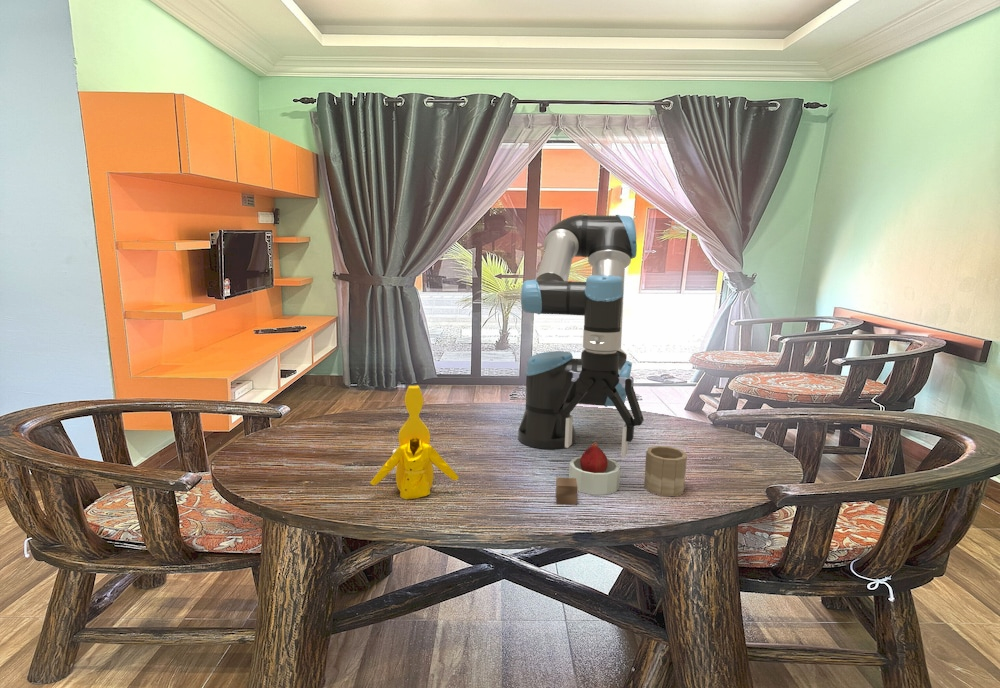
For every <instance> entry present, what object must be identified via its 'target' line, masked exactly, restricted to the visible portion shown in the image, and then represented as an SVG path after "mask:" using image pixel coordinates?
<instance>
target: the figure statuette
mask: <svg viewBox="0 0 1000 688" xmlns="http://www.w3.org/2000/svg"><path fill="white" fill-rule="evenodd" d="M404 405H405V408H406V411H407V412H408V415H409V416H408V417H407V419H406V420H405V422H404V423H403V425H402V426H401V428H399V431H398V437H397V438H398V444H399V446H397V448H395V449H396V451H395V452H394V454H393V453H392V455H391V456H390V457H389V459H387V461H386V462H385V463H384V464H383V465H382V466H381V468H380V469H379V470H378V472H377V473H376V474H375V475H374V477H373V478H372V480H371V481H370V482H369V483H370V485H372V486H377V485H378V484H379V483H380V482H381V481H382V480H383V479H384V478H385V477H386V476H387V475H389V474H390V472H392V471H393V470H394V469H395V482H396V487H397V489H398V491H400V492H399V497H400V498H401V499H403V500H414V499H420V498H421V497H427V496H428V495H430V494H431V488H432V486H433V482H434V468H433V465H434V466H435V467H436V468H437V469H438V470H440V471H441V472H442V473H443V474H445V476H447V477H448V478H449V479H450V480H452V481H453V482H454V481H457V480H459V479H460V476H459V475H458V474H457V473H456V472H455V471H454V470H453V468H452V467H451V466H450V465H449V464H448V463H447V462H446V461H445V460H444V458H443V457H442V455H440V453H439V452H437V450H436V449H435V448H434V447H433V446H432V445H431V444H430V442H431V434H430V430H429V428H428V427H427V425H426V424H425V423H424V422H423V420H422V419H421V418H420V416H419V415H420V413H421V411H422V409H423V405H424V396H423V393H422V390H421V388H420V386H419V385H418V384H417V385H408V386H407V389H406V392H405V395H404Z"/></svg>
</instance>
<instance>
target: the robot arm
mask: <svg viewBox="0 0 1000 688" xmlns="http://www.w3.org/2000/svg"><path fill="white" fill-rule="evenodd" d="M637 246H638V245H637V229H636V224H635V220H634V219H633V218H632V217H631V216H628V215H619V214H615V215H603V214H602V215H598V214H597V215H595V214H593V215H590V214H588V215H587V214H586V215H585V214H577V215H573V216H569V217H566V218H565V219H562V220H561V221H559V222H558V223H556V224H555V225H553V226H552V227H551V228H550V229H549V230H548V232H547V233H546V235H545V238H544V240H543V250H544V252H543V254H542V255H543V256H542V259H541V260H540V261H541V262H540V265H539V267H538V271H537V274H536V277H535V279H527V280H525V281H523V283H522V286H521V294H520V303H521V309H522V311H523V312H525V313H529V314H537V315H541V314H542V315H566V316H567V315H568V316H569V315H570V316H584V317H583V318H584V321H583V323H584V324H583V334H582V335H583V336H582V338H583V339H582V347H583V350H582V351H581V354H580V355H581V356H580V358H574V357H573V353H571V352H570V351H563V350H557V351H546V352H541V353H540V352H539V353H536V354H534V355H532V356H530V357H529V358H528V359H527V364H526V372H525V376H526V380H525V381H526V385H525V411H524V413H523V416H522V419H521V421H520V424H519V427H518V432H517V437H518V439H517V440H518V441H519V442H520V443H522V444H523V445H526V446H528V447H531V448H535V449H536V448H537V449H545V450H551V449H552V450H556V449H564V448H567V449H568V448H569V447H570V446H572V445H574V444H575V442H576V430H575V427H574V423H573V422H574V415H572V414H571V412H572V411H573V410H574V409H575V407H576V406H577V405H586V406H590V405H591V406H600V407H601V406H602V407H605V408H607V407H615V409H616V410H617V411H618V413H619V415H620V416H621V419H622V421H623V422H624V425H623V426H622V434H621V448H620V452H621V453H620V457H621V458H622V459H623V458H626V456H627V455H628V451H629V450H628V449H629V448H628V447H629V443H631V442H632V441H633V439H634V435H635V427H637V426H638V427H639V426H641V425H642V424H643V423H644V421H645V419H644V417H643V413H642V410H641V406H640V404H639V402H638V401H639V400H638V397H637V395H636V392H635V389H634V382H635V381H634V377H633V376H631V372H632V367H633V366H632V365H633V362H631V361H630V360H627V353H626V352H625V351H624V350H623V349H622V338H623V337H622V336H623V335H622V332H623V315H624V314H623V313H624V292H625V291H624V290H625V272H626V271H625V270H626V268H628V267H629V266H630V264H631V261H632V260H633V259H635V258H636V257H637V249H638V247H637ZM577 257H580V258H582V257H583V258H587V262H588V264H589V265H590V266H591V267H592V275H589V276H588V277H587V278H586V279H585V280H586V281H572V280H569V277H570V272H571V268H572V267H571V266H572V262H573V259H574V258H577ZM626 400H627V401H628V404H629V408H630V410H629V409H628V407H627V406H626V404H625V402H626ZM630 411H631V413H632V414H631V413H630Z"/></svg>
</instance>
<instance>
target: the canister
mask: <svg viewBox="0 0 1000 688" xmlns="http://www.w3.org/2000/svg"><path fill="white" fill-rule="evenodd" d="M645 454H646V455H645V467H644V481H643V483H644V484H643V487H644V488H645V490H647V492H649V493H650V492H651V494H653V493H654V495H656V494H657V495H658V496H659V495H660V497H668V496H675V497H678V496H677V495H679V496H681V495H680V494H682V495H684V492H685V485H686V471H687V459H688V453H687V452H685V451H683V449H681V448H676V447H672V446H670V445H669V446H665V445H655V446H651V447H648V448H647V450H646V452H645ZM683 491H684V492H683Z"/></svg>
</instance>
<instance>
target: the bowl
mask: <svg viewBox="0 0 1000 688" xmlns="http://www.w3.org/2000/svg"><path fill="white" fill-rule="evenodd" d="M581 456H582V455H580V456H577V457H573V458H572V459H571V460H570V461H569V469H568V470H569V471H568V478H576V480H577V486H578V490H577V492H580V493H583V494H587V495H591V496H599V495H600V496H605V495H606V496H608V495H611V494H614V493H616V492H617V491H618V490H619V488H620V480H621V479H620V477H621V466H620V464H619V463H618V461H615V460H614V459H612V458H609V457H607V461H608V466H607V469H606V471H605V472H604V473H592V472H586V471H583V470H582V468H581V465H580V460H581Z"/></svg>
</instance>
